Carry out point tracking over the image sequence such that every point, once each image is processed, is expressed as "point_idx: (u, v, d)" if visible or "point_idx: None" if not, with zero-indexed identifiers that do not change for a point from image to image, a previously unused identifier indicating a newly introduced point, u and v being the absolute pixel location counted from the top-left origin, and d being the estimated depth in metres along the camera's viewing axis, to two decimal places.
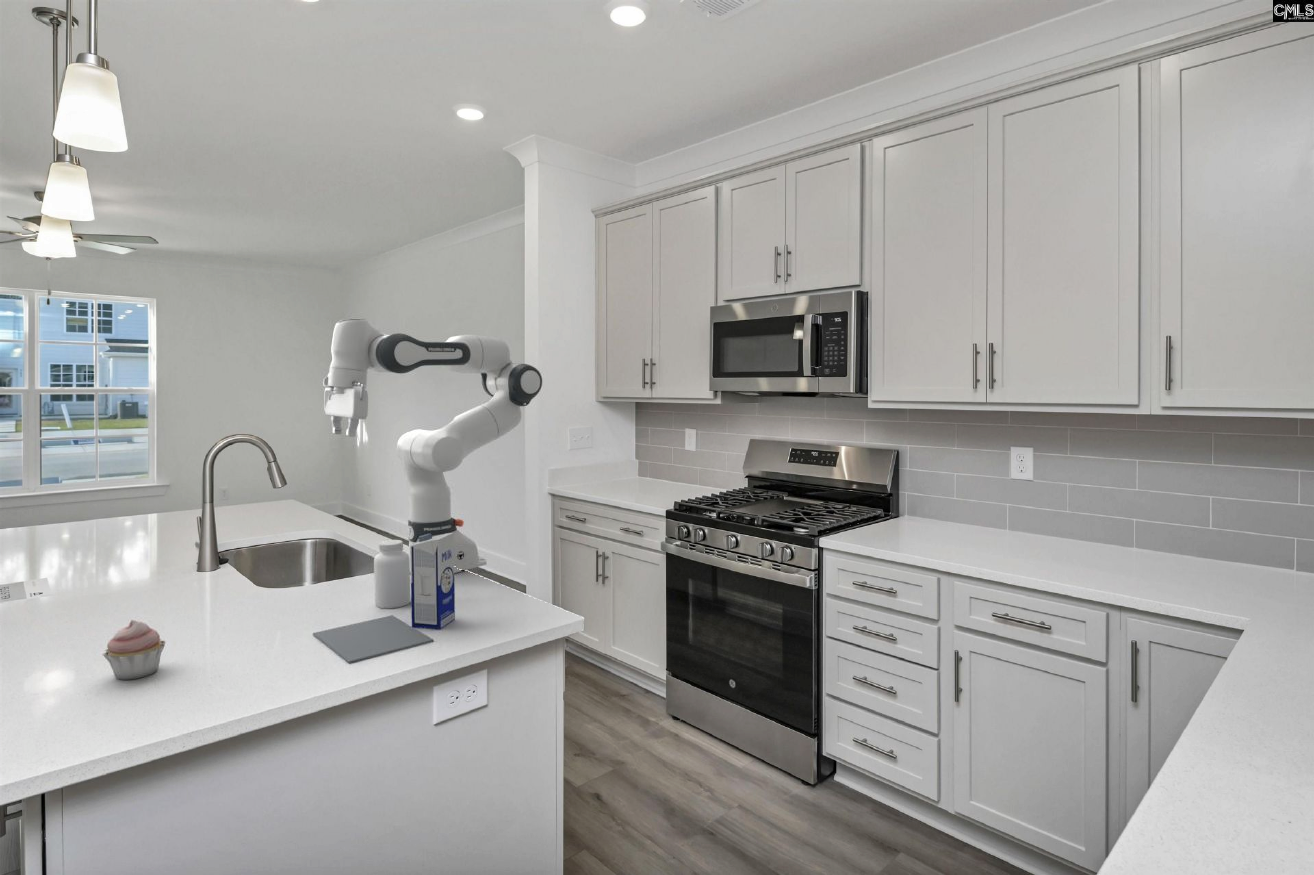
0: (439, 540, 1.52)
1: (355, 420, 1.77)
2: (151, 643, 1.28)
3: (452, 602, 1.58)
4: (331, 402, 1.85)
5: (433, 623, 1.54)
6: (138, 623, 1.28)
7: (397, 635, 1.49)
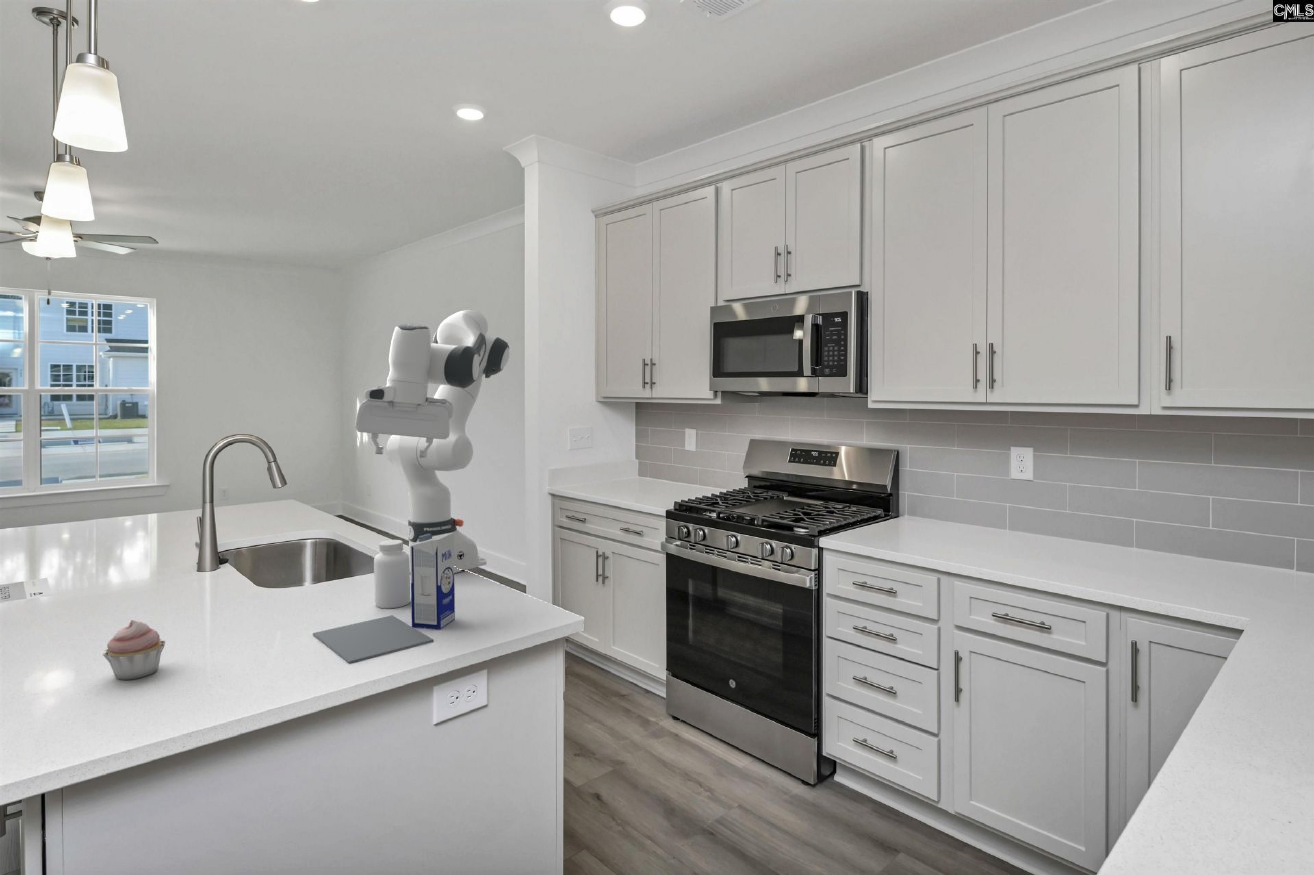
0: (439, 540, 1.52)
1: (432, 440, 1.64)
2: (151, 643, 1.28)
3: (452, 602, 1.58)
4: (378, 418, 1.59)
5: (433, 623, 1.54)
6: (138, 623, 1.28)
7: (397, 635, 1.49)
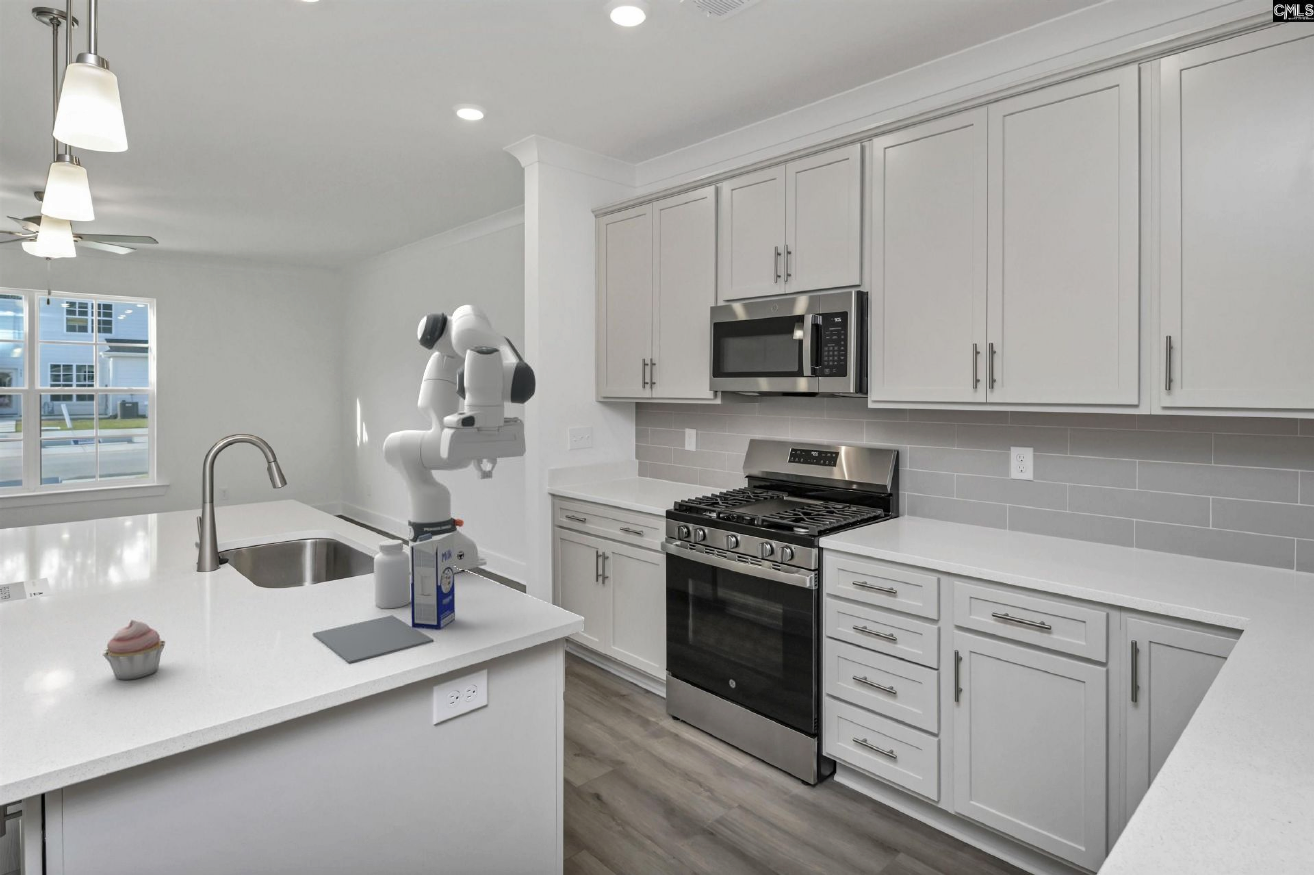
0: (439, 540, 1.52)
1: None
2: (151, 643, 1.28)
3: (452, 602, 1.58)
4: (467, 445, 1.58)
5: (433, 623, 1.54)
6: (138, 623, 1.28)
7: (397, 635, 1.49)
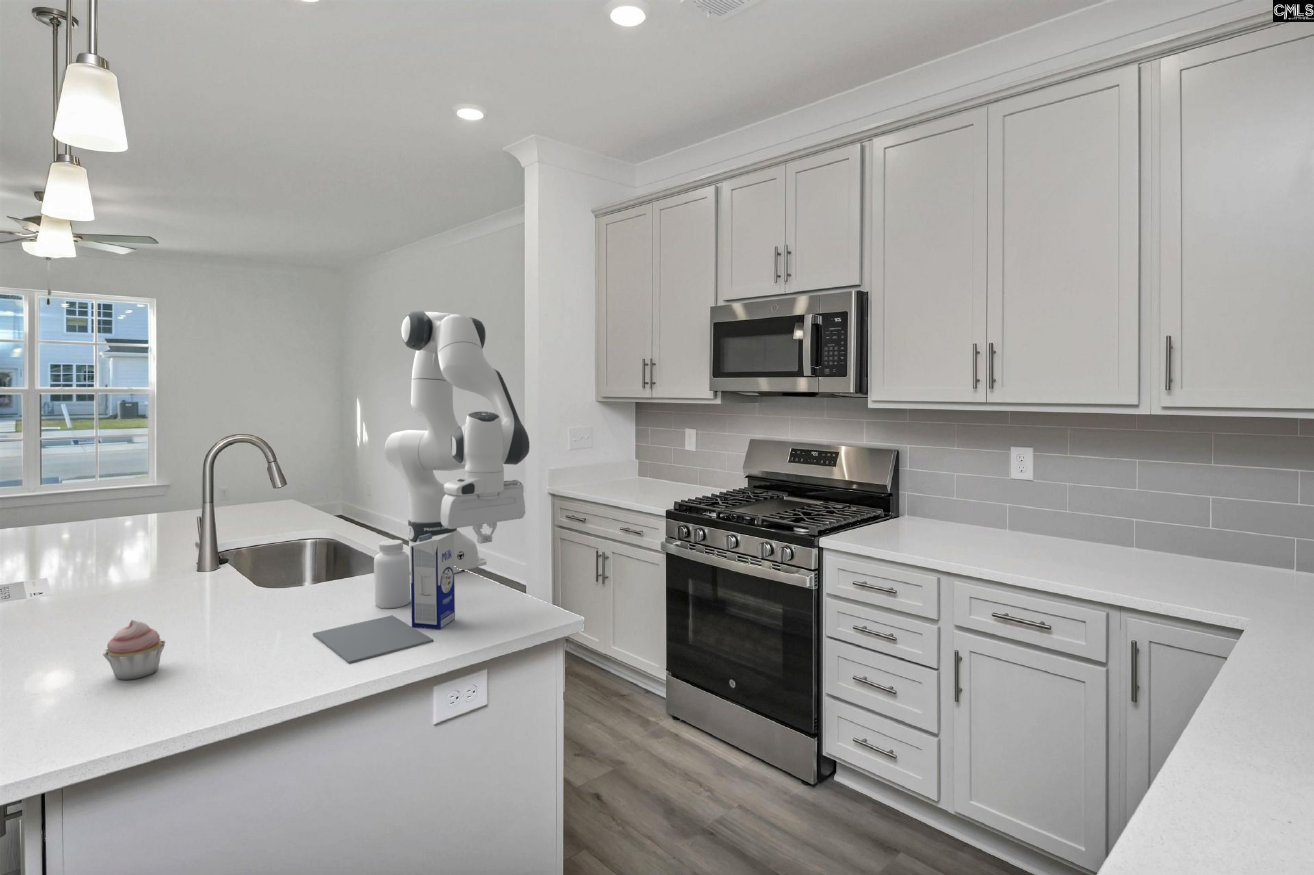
0: (439, 540, 1.52)
1: None
2: (151, 643, 1.28)
3: (452, 602, 1.58)
4: (467, 511, 1.59)
5: (433, 623, 1.54)
6: (138, 623, 1.28)
7: (397, 635, 1.49)
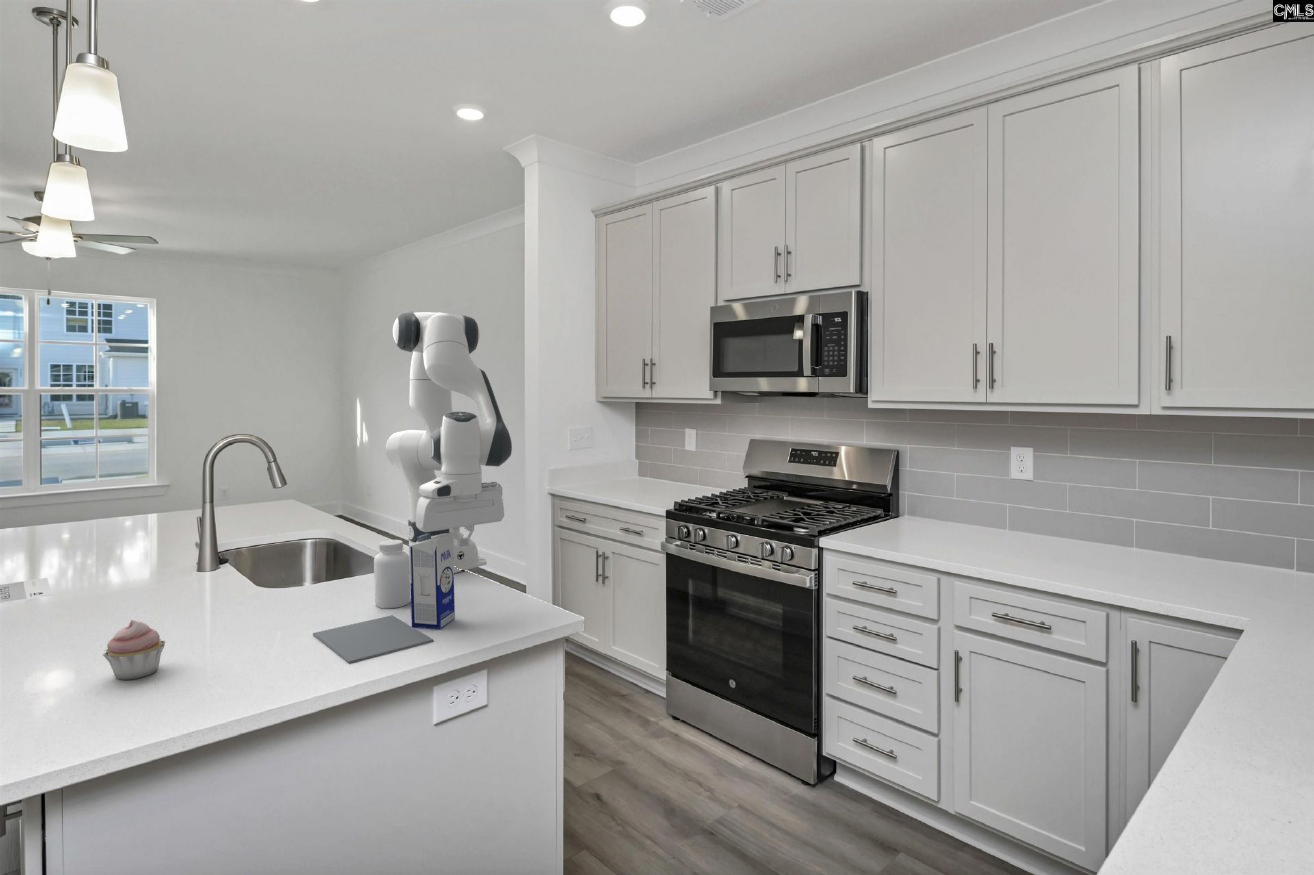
0: (438, 540, 1.52)
1: None
2: (151, 643, 1.28)
3: (451, 601, 1.58)
4: (443, 514, 1.55)
5: (433, 623, 1.54)
6: (138, 623, 1.28)
7: (397, 635, 1.49)
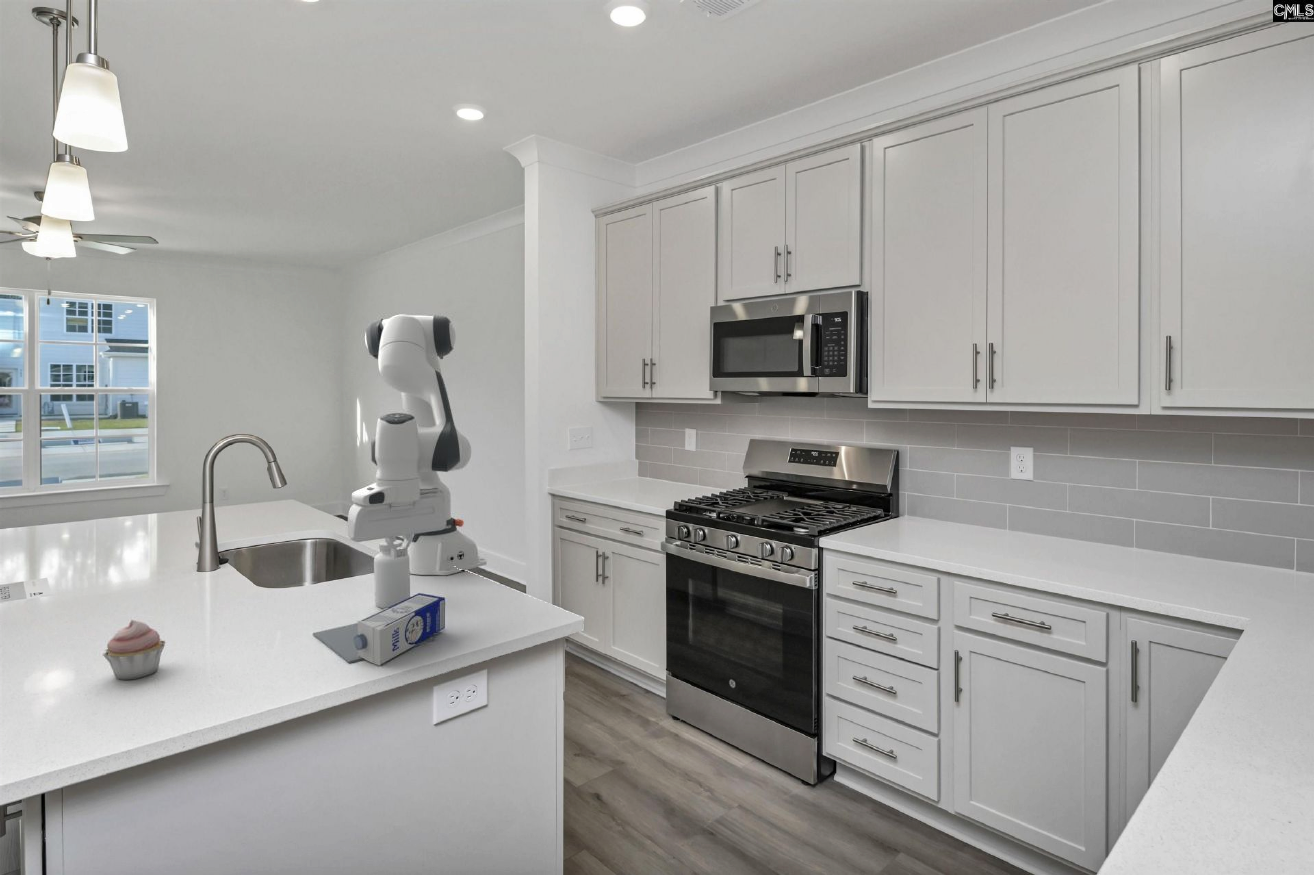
0: (381, 662, 1.34)
1: None
2: (151, 643, 1.28)
3: (432, 610, 1.47)
4: (377, 522, 1.45)
5: None
6: (138, 623, 1.28)
7: None
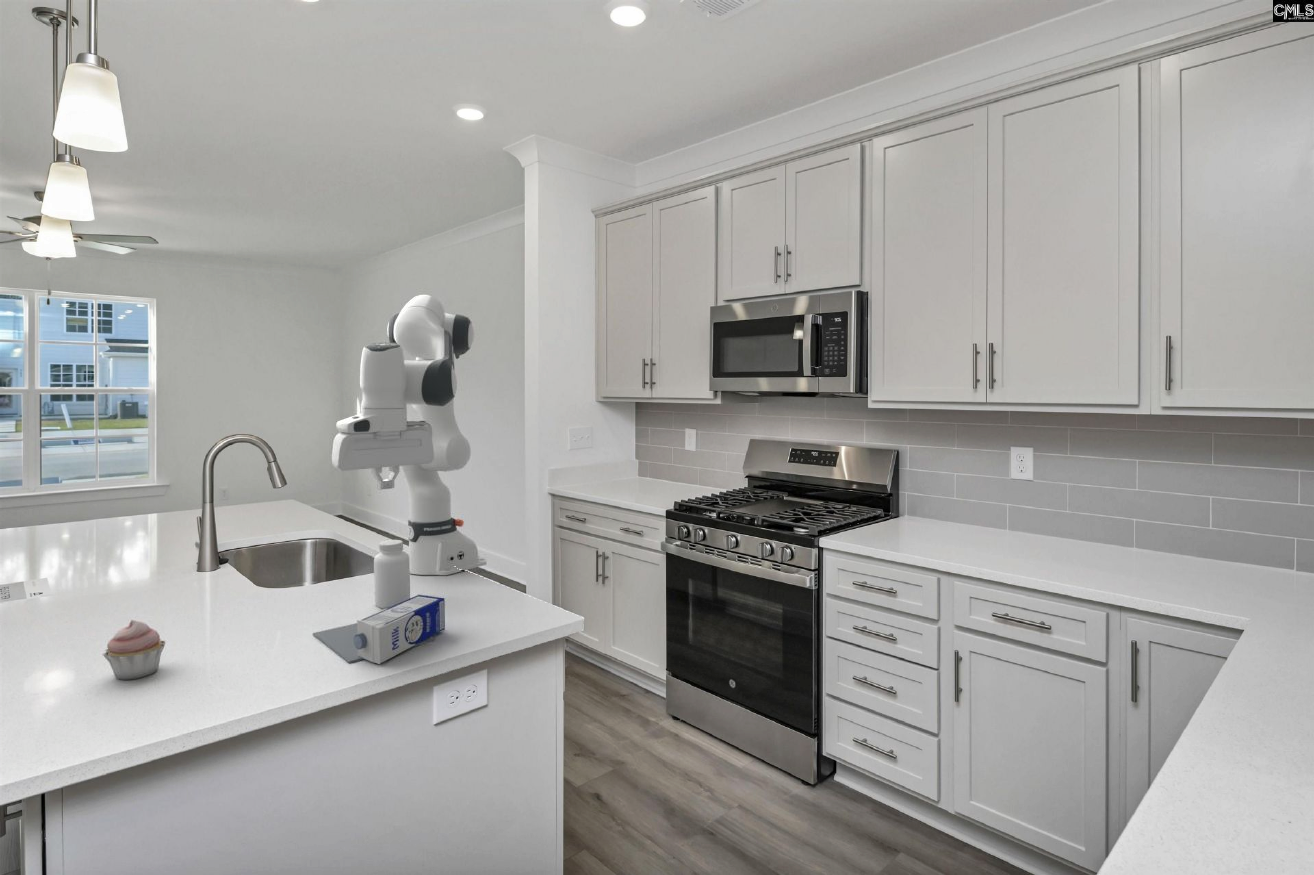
0: (381, 661, 1.34)
1: None
2: (151, 643, 1.28)
3: (431, 610, 1.48)
4: (362, 452, 1.42)
5: None
6: (138, 623, 1.28)
7: None
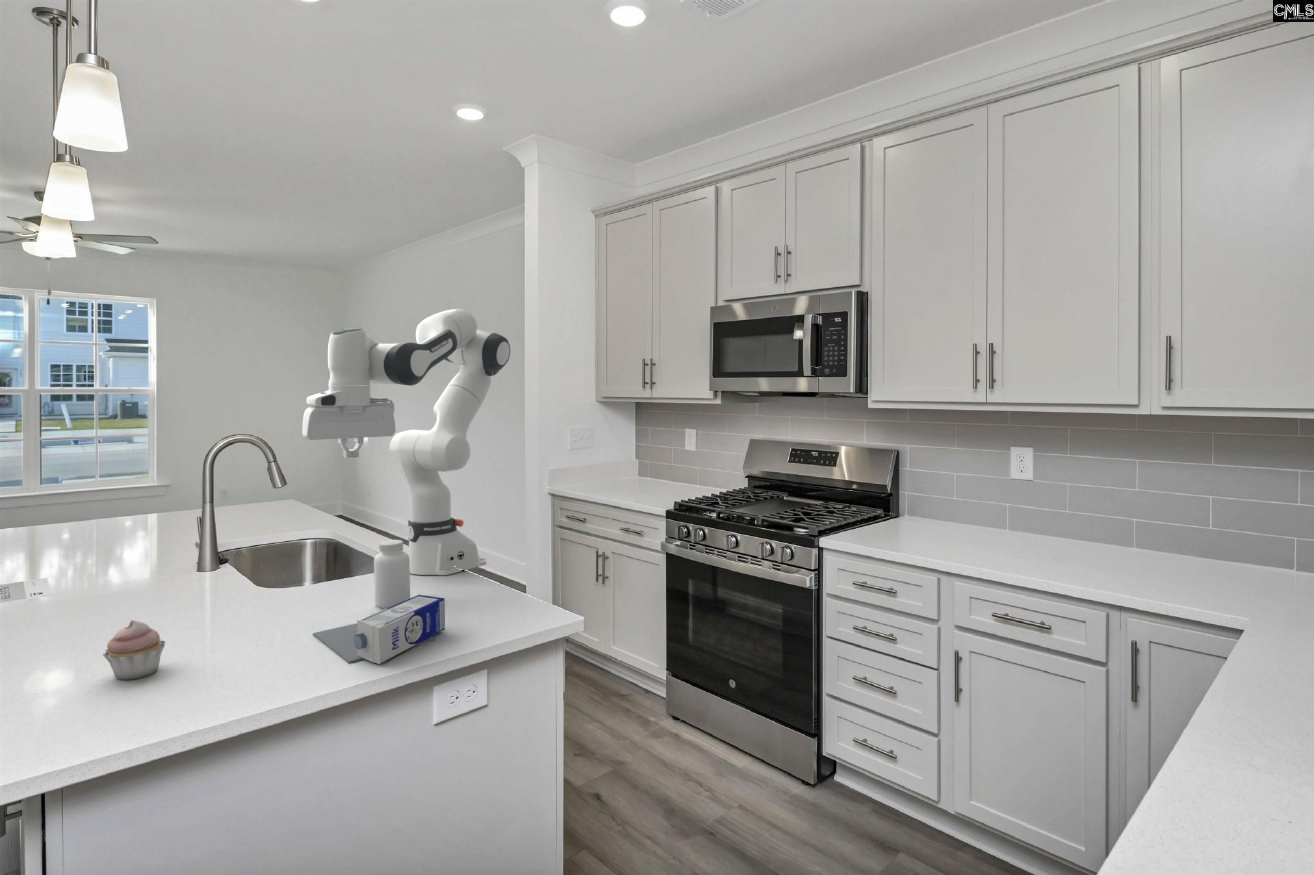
0: (381, 661, 1.34)
1: None
2: (151, 643, 1.28)
3: (431, 610, 1.48)
4: (329, 423, 1.61)
5: None
6: (138, 623, 1.28)
7: None
